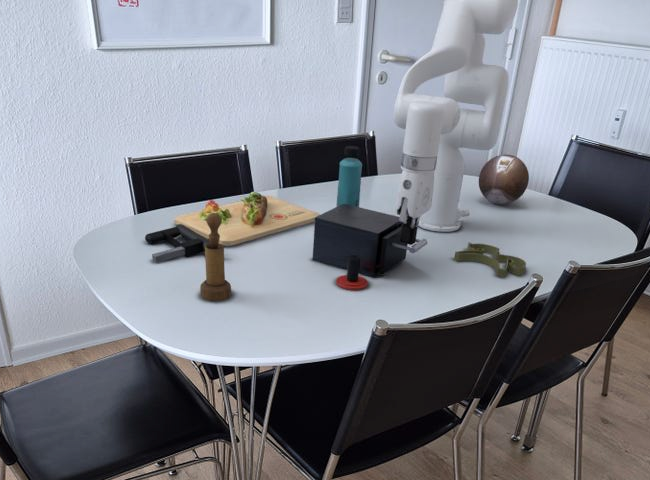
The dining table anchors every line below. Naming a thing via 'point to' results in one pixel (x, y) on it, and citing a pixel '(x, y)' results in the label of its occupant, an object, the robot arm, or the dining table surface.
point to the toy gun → (177, 242)
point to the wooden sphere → (503, 179)
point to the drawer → (394, 249)
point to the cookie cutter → (491, 259)
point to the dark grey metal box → (351, 236)
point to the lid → (352, 276)
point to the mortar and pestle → (215, 265)
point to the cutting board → (248, 218)
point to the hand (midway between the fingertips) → (407, 242)
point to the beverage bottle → (349, 178)
